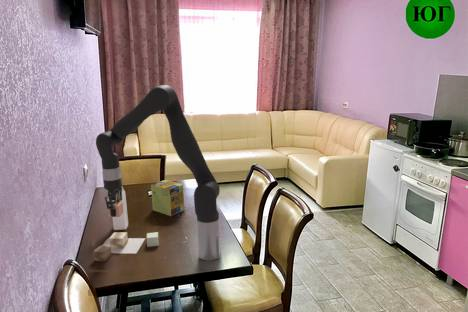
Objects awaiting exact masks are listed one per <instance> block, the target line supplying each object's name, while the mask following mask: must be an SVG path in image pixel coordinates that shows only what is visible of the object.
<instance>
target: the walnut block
mask: <svg viewBox="0 0 468 312" xmlns="http://www.w3.org/2000/svg"><path fill="white" fill-rule="evenodd" d="M112 254H113V253H111V247H110V246H102V245H99V246H98V247H97V248H95V249H94V250H93V259H94V261H96V262H104V263H105V262H106V261H108V260H109V259H110V258H111V257H112Z"/></svg>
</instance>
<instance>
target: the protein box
mask: <svg viewBox="0 0 468 312" xmlns="http://www.w3.org/2000/svg"><path fill="white" fill-rule="evenodd" d="M150 190H151V191H150V192H151V203H152V211H154V212H158V213H160V214H163V215H166V216H169V217H172V216H175V215H177V214H180V213H181V212H184V211H185V199H184V198H185V196H184V195H185V193H184V184H183V183H178V182H174V181H170V180H167V179H164V180H161V181H157V182H155V183H151V184H150Z"/></svg>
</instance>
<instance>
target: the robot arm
mask: <svg viewBox="0 0 468 312" xmlns="http://www.w3.org/2000/svg"><path fill="white" fill-rule="evenodd" d="M160 111H163V113H164V115H165V117H166V118H167V121H168V126H169V130H170V131H169V132H170V139H171V143H172V145H173V147H174V150H175V152H176V154H177V156H178V158H179V160H180V161H181V162H182V163H183V164H184V165H185V167H187V168H188V170H189V171H190V172H191V173H192V175H193V177H194V179H195V182H196V187H195V189H194V192H193V203H194V213H195V215H196V224H197V225H196V226H197V227H196V229H197V246H198V247H197V248H198V258H199V259H200V260H202V261H205V262H210V261H215V260H219V259H221V252H222V250H221V249H222V247H221V232H220V213H219V210H218V208H217V199H218V197H219V195H220V191H221V190H220V185H219V184H218V182H217V180H216V178H215V177H214V175H213V174H212V171H211V170H210V168H209V166H208V164H207V161H206V160H205V157H204V154H203V153H202V150H201V148H200V146H199V143H198V141H197V139H196V137H195V134H194V133H193V131H192V129H191V127H190V124H189V122H188V120H187V119H186V118H187V117H185V114H184V111H183V109H182V106H181V103H180V100H179V97H178V94H177V92H176V90H175V89H174V88H173V87H172V86H170V85H167V84H161V85H157V86H154V87H152V88H151V90H150V91H149V92H148V93H147V94H146V95H145V96H144V97H143V98H142V100H140V102H139V103H138V104H137V105H136V106H135V107H134V108H133V109H131V110H130V111H129V112H128V113H126V114H125V115H124V116H123V117H121V118H120V119H118V120H117V121H116V122H115V123H114V125H112V126H113V127H112V128H111V129H109V130H106V131H105V132H101V133H99V134H98V135H97V137H96V139H95V146H96V149H97V153H98V155H99V157H100V159H101V169H102V172H101V174H102V180H103V182H102V183H103V189H104V190H107V196H105V197H104V200H105V205H106V209H110V213H111V217H110V218H112V217H115V216H116V203H117V202H121V200H122V187H123V183H122V171H121V168H120V158H119V155H118V153H116V152H114V151H113V148H115V147H116V146H118V145H119V144H120V143H122V141H124V140H125V139H126V137H128V136H129V135H130V134H133V132H134V131H136V130H137V129H138V128H139V127H141V125H142V124H143V123H144V122H145V121H146V120H147V119H149V117H151V116H153V115H154V114H156V113H158V112H160ZM112 200H114V201H112ZM113 204H114V205H113Z"/></svg>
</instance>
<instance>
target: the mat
mask: <svg viewBox="0 0 468 312" xmlns="http://www.w3.org/2000/svg"><path fill="white" fill-rule="evenodd" d="M109 238H110V237H108V238H107V239H106V240H105V241H104V243H102V245H101V246H110V241H109ZM145 240H146V237H145V238H144V237H143V238H142V237H137V238H136V237H134V238H133V237H132V238H131V237H129V238H128V243H127V245H126V246H125V247H124V249H111V254H137V253H138V252H139V250H140V248H141V247H142V245H143V243H144V242H145Z"/></svg>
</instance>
